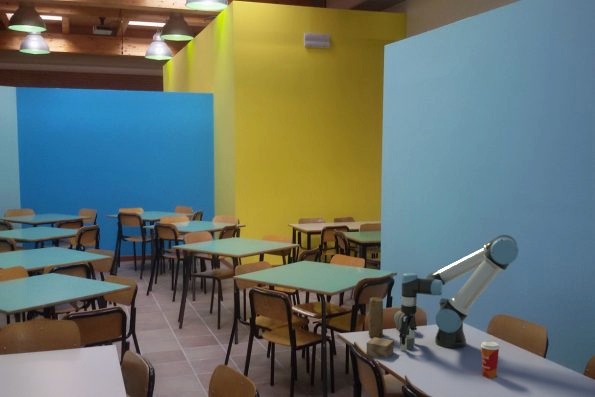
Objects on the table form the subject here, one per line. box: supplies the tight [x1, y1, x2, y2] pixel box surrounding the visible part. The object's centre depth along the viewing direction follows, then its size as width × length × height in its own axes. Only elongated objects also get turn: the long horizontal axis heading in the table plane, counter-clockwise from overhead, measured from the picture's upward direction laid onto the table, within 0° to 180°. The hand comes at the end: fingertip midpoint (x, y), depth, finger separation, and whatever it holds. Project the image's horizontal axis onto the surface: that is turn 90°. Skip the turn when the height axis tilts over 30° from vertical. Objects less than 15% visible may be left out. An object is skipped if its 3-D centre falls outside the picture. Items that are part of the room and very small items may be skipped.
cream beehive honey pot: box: [393, 310, 411, 331], centre depth 307 cm, size 11×17×11 cm, turn 32°
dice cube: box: [399, 334, 415, 350], centre depth 280 cm, size 5×5×5 cm
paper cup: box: [480, 341, 500, 379], centre depth 242 cm, size 8×8×14 cm
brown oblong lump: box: [368, 296, 384, 338], centre depth 298 cm, size 11×8×20 cm
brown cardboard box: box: [366, 337, 395, 359], centre depth 270 cm, size 10×10×6 cm
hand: (407, 346), depth 280 cm, fingers open, 13 cm apart
